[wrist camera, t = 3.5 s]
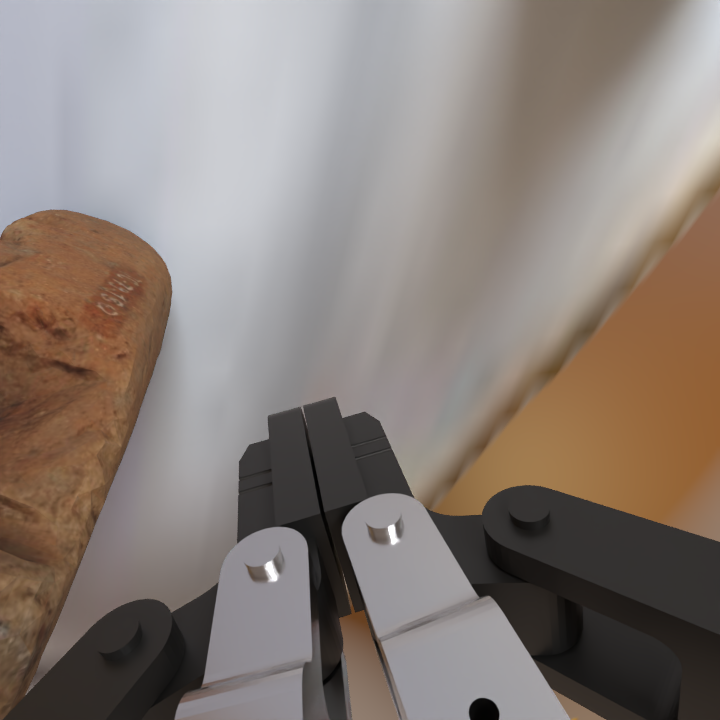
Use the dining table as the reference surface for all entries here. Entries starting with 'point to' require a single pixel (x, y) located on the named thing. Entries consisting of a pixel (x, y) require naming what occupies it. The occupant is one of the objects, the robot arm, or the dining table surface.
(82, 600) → the dining table surface
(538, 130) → the dining table surface
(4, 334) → the sandstone rock
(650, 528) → the robot arm
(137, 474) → the dining table surface
